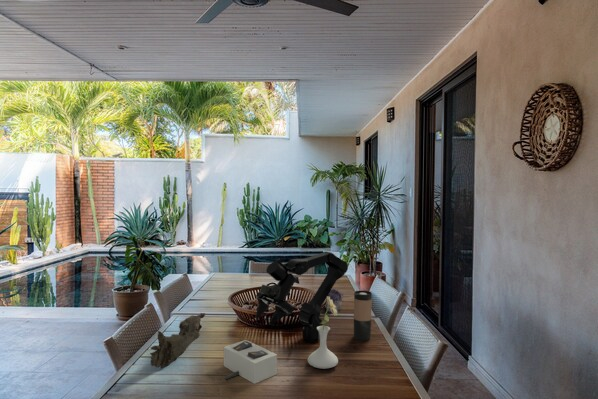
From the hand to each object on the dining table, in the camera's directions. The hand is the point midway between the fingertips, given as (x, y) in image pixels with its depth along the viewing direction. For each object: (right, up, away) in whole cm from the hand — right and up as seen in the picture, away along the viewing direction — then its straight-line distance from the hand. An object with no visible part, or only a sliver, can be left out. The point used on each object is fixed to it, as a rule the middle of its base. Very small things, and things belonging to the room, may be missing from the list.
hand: (262, 321), depth 154 cm
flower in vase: (+23, -14, -7) cm, 28 cm away
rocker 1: (-7, -6, -10) cm, 13 cm away
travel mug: (+42, -13, +20) cm, 48 cm away
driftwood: (-33, -13, +5) cm, 36 cm away
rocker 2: (0, -7, -16) cm, 17 cm away
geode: (+33, -12, +64) cm, 73 cm away
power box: (-5, -14, -14) cm, 20 cm away
